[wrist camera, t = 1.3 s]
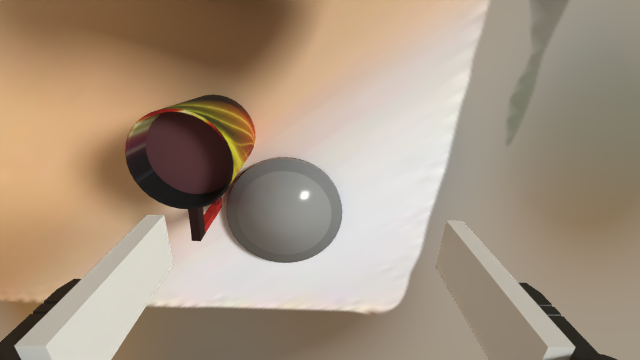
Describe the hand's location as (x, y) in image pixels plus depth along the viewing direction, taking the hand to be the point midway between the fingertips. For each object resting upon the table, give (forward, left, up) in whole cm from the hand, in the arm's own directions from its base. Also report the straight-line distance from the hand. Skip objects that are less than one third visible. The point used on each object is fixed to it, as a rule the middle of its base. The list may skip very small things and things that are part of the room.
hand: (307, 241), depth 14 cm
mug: (+3, -11, -27) cm, 29 cm away
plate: (+12, -3, -26) cm, 29 cm away
